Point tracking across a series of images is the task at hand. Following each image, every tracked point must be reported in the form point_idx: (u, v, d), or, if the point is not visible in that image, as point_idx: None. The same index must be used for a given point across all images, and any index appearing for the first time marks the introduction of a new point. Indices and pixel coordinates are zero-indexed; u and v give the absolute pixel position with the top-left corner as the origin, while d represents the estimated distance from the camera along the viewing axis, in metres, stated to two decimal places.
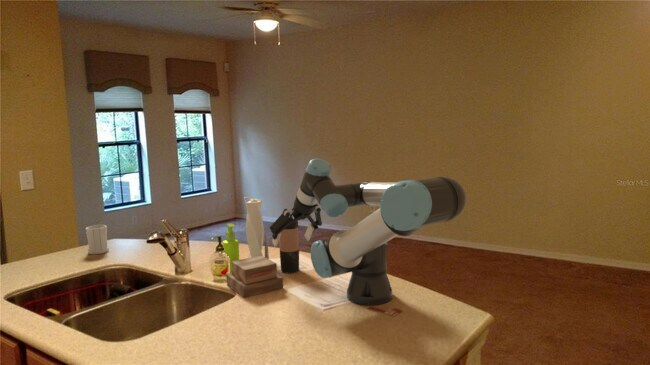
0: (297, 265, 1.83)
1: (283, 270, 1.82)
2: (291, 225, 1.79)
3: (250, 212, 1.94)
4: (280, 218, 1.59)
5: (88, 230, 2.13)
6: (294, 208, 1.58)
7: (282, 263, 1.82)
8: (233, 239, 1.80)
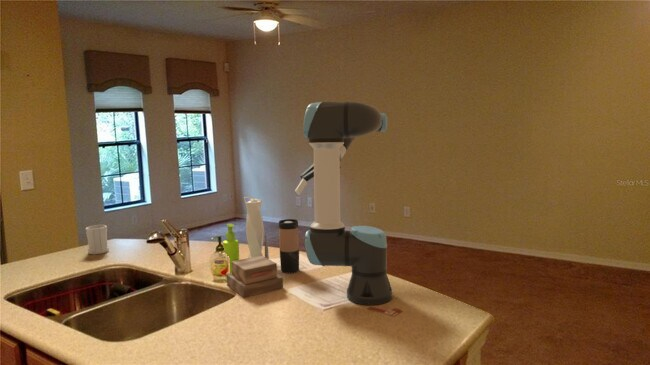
0: (297, 265, 1.83)
1: (283, 270, 1.82)
2: (291, 225, 1.79)
3: (250, 212, 1.94)
4: None
5: (88, 230, 2.13)
6: None
7: (282, 263, 1.82)
8: (233, 239, 1.80)
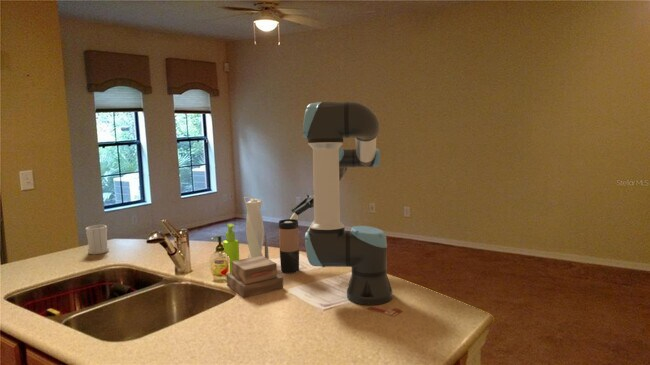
0: (297, 265, 1.83)
1: (283, 270, 1.82)
2: (291, 225, 1.79)
3: (250, 212, 1.94)
4: None
5: (88, 230, 2.13)
6: None
7: (282, 263, 1.82)
8: (233, 239, 1.80)
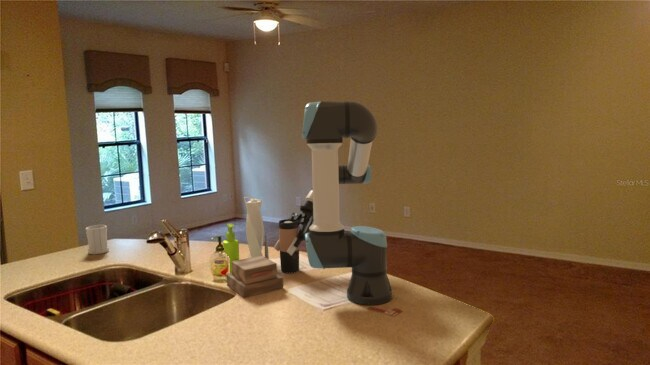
0: (297, 265, 1.83)
1: (283, 270, 1.82)
2: (291, 225, 1.79)
3: (250, 212, 1.94)
4: None
5: (88, 230, 2.13)
6: None
7: (282, 263, 1.82)
8: (233, 239, 1.80)
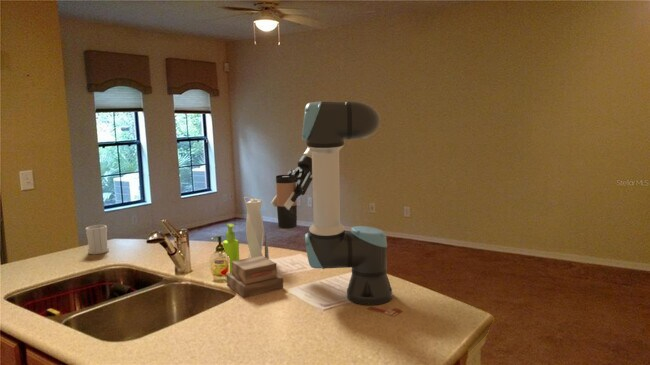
0: (295, 220, 1.80)
1: (280, 225, 1.80)
2: (288, 179, 1.76)
3: (250, 212, 1.94)
4: None
5: (88, 230, 2.13)
6: None
7: (279, 218, 1.79)
8: (233, 239, 1.80)
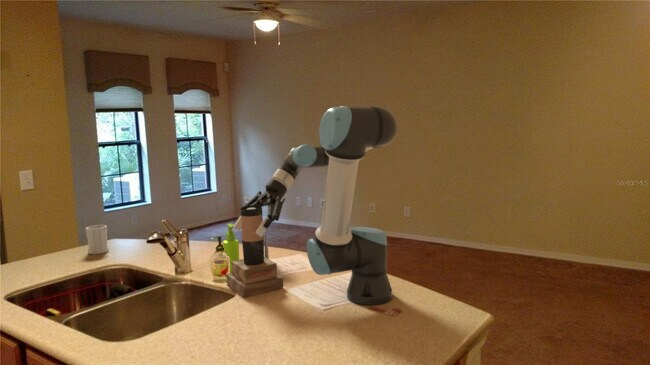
0: (261, 256, 1.65)
1: (246, 262, 1.64)
2: (253, 212, 1.61)
3: None
4: None
5: (88, 230, 2.13)
6: None
7: (244, 254, 1.64)
8: (233, 239, 1.80)
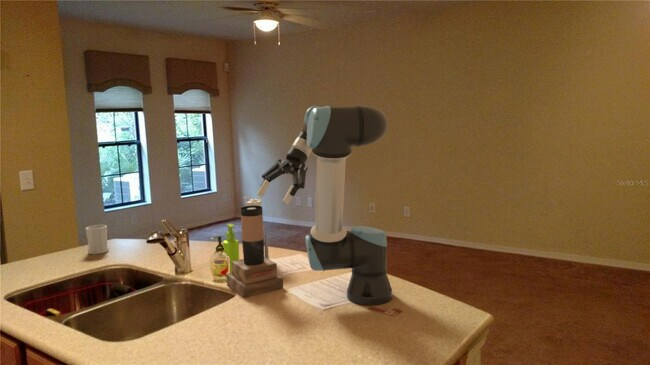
0: (261, 256, 1.65)
1: (246, 262, 1.64)
2: (254, 212, 1.61)
3: None
4: None
5: (88, 230, 2.13)
6: None
7: (245, 254, 1.64)
8: (233, 239, 1.80)
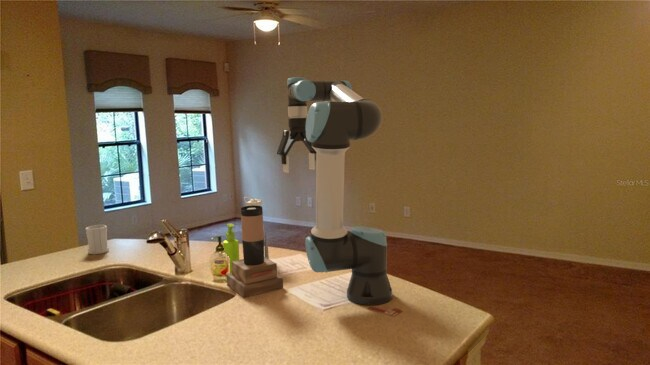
0: (261, 256, 1.65)
1: (246, 262, 1.64)
2: (254, 212, 1.61)
3: None
4: (282, 139, 1.81)
5: (88, 230, 2.13)
6: (290, 127, 1.82)
7: (245, 254, 1.64)
8: (233, 239, 1.80)
